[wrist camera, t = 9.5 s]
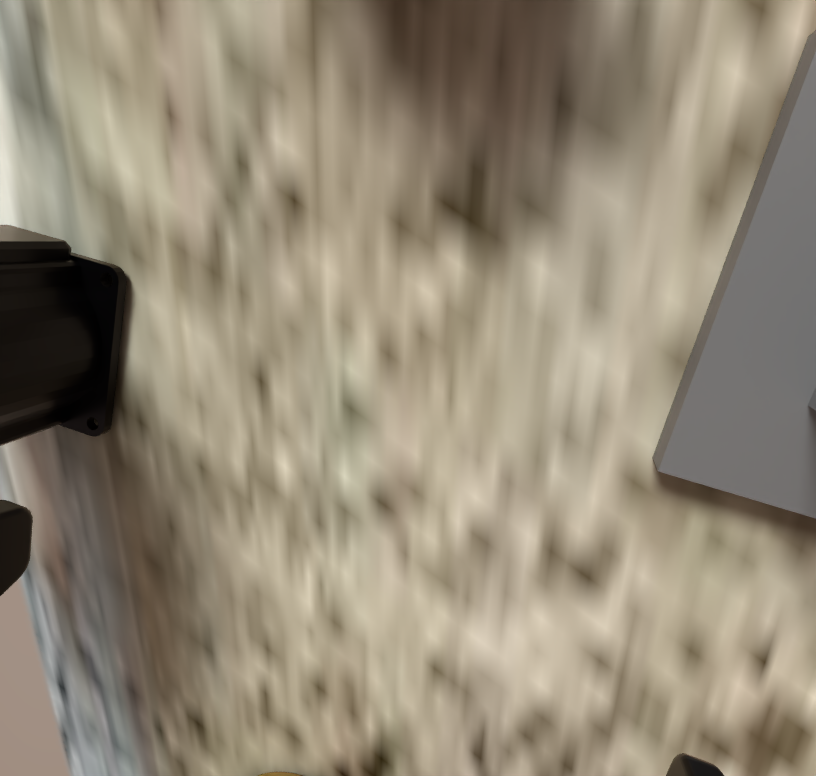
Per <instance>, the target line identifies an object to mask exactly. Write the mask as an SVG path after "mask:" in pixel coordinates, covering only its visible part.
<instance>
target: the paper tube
mask: <svg viewBox="0 0 816 776" xmlns="http://www.w3.org/2000/svg"><path fill="white" fill-rule="evenodd" d="M258 776H302V775H298V774H294V773H287V772H270V773H265V774H261V775H258Z"/></svg>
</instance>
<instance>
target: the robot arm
mask: <svg viewBox="0 0 816 776" xmlns="http://www.w3.org/2000/svg"><path fill="white" fill-rule="evenodd" d="M109 274H110V275H111V276H112V279H113V282H112V285H111V284H110V283H109V281H108V275H109ZM125 290H126V276H125V274H124V271H123V270H122V269H121V268H120V267H118V266H116V265H113V264H110V263H106V262H103V261H99V260H96V259H92V258H89V257H85V256H82V255H78V254H75V253H71V247H70V246H69V245H68V244H67V243H66V241H64V240H60V239H56V238H53V237H49V236H46V235H42V234H39V233H35V232H32V231H28V230H25V229H21V228H17V227H14V226H10V225H0V446H1V445H4V444H7V443H9V442H12V441H15V440H18V439H21V438H23V437H26V436H29V435H32V434H34V433H37V432H40V431H43V430H46V429H48V428H51V427H54V426H57V425H61V426H64V427H67V428H70V429H73V430H75V431H78V432H81V433H84V434H87V435H90V436H99V435H101V434H104V433H106V432H108V431H109V430H110V427H111V423H112V414H113V404H114V395H115V385H116V376H117V366H118V357H119V347H120V338H121V328H122V319H123V309H124V300H125ZM94 418H95V419H96V420H97V422H98V426H97V425H96V424H95V421H94ZM32 523H33V517H32V514H31V512H30V510H28V509H27V508H26V507H23V506H20V505H18V504H15V503H12V502H10V501H6V500H0V596H1V595H2V594H3V593H4V592H5V591H6V590H7V589H8V588H9V587H10V586H11V585H12V584H13V583H14V582H16V581H17V580H18V579H19V578H20V577H21V575H22V574H23V573H24V571H25V570H26V568H27V566H28V563H29V560H30V551H31V537H32ZM666 776H724V775H723V773H722V772H721V771H720V770H719V769H718V768H717V767H716V766H715V765H713V764H711V763H709V762H706V761H703V760H701V759H698V758H695V757H693V756H690V755H687V754H684V753H682V754H679V755H677V756H676V757H675V758H674V759H673V761H672V763H671V765H670V768H669V770H668V772H667V774H666Z"/></svg>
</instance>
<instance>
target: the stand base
mask: <svg viewBox="0 0 816 776" xmlns="http://www.w3.org/2000/svg"><path fill="white" fill-rule="evenodd" d="M653 460H654V463H655V465H656V468H657V470H658V471H659V472H662V473H665V474H669V475H672V476H675V477H679V478H682V479H685V480H689V481H692V482H695V483H699V484H702V485H705V486H709V487H712V488H715V489H719V490H722V491H725V492H729V493H732V494H735V495H739V496H742V497H745V498H749V499H752V500H755V501H759V502H762V503H765V504H769V505H772V506H775V507H779V508H782V509H786V510H789V511H792V512H796V513H799V514H802V515H806V516H809V517H812V518H816V30H815V31H814V32H813V33H812V34H811V35H809V36H808V39H807V42H806V45H805V47H804V50H803V53H802V55H801V58H800V61H799V63H798V66H797V69H796V72H795V74H794V77H793V80H792V82H791V85H790V88H789V91H788V93H787V96H786V99H785V101H784V104H783V107H782V109H781V112H780V115H779V118H778V120H777V123H776V126H775V128H774V131H773V134H772V136H771V139H770V142H769V145H768V147H767V150H766V153H765V155H764V158H763V161H762V163H761V166H760V169H759V172H758V174H757V177H756V180H755V182H754V185H753V188H752V190H751V193H750V196H749V199H748V201H747V204H746V207H745V209H744V212H743V215H742V217H741V220H740V223H739V226H738V228H737V231H736V234H735V236H734V239H733V242H732V245H731V247H730V250H729V253H728V255H727V258H726V261H725V263H724V266H723V269H722V272H721V274H720V277H719V280H718V282H717V285H716V288H715V290H714V293H713V296H712V299H711V301H710V304H709V307H708V309H707V312H706V315H705V317H704V320H703V323H702V326H701V328H700V331H699V334H698V336H697V339H696V342H695V344H694V347H693V350H692V353H691V355H690V358H689V361H688V363H687V366H686V369H685V371H684V374H683V377H682V380H681V382H680V385H679V388H678V390H677V393H676V396H675V399H674V401H673V404H672V407H671V409H670V412H669V415H668V417H667V420H666V423H665V426H664V428H663V431H662V434H661V436H660V439H659V442H658V444H657V447H656V450H655V453H654V455H653Z"/></svg>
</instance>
